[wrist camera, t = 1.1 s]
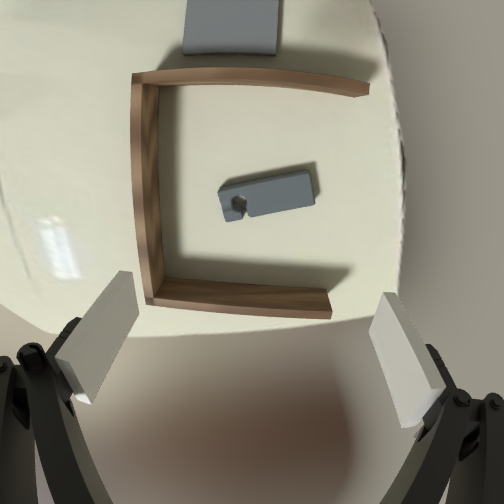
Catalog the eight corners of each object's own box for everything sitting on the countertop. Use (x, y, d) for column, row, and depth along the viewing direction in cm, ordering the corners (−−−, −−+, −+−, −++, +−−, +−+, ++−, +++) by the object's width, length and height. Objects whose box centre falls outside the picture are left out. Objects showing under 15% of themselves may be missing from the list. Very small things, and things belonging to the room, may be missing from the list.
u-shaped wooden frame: (150, 78, 27) (131, 73, 23) (354, 87, 27) (369, 83, 22) (157, 283, 39) (146, 304, 35) (324, 296, 39) (330, 319, 34)
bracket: (313, 200, 34) (316, 205, 32) (227, 217, 35) (225, 223, 33) (307, 168, 32) (310, 171, 30) (219, 186, 34) (216, 191, 32)
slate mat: (195, -39, 20) (193, -42, 19) (280, -40, 20) (280, -43, 19) (184, 55, 26) (182, 53, 25) (275, 56, 26) (275, 54, 25)
